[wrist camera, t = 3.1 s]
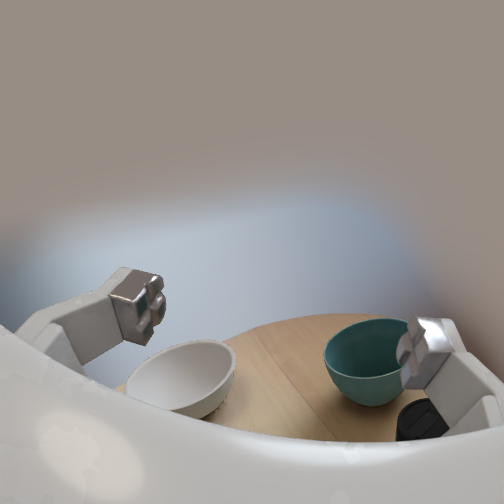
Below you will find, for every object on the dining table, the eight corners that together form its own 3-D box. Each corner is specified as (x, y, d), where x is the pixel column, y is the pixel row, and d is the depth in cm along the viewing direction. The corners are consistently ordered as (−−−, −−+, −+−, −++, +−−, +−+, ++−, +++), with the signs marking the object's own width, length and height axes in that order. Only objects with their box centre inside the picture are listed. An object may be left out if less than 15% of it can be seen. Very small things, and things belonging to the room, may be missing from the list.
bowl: (155, 379, 72) (141, 352, 70) (245, 360, 72) (234, 329, 70) (132, 447, 45) (109, 416, 43) (253, 431, 46) (238, 397, 44)
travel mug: (374, 498, 24) (380, 422, 20) (407, 470, 26) (424, 383, 22) (401, 520, 18) (428, 454, 14) (435, 489, 20) (470, 404, 16)
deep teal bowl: (318, 386, 54) (308, 341, 52) (388, 353, 56) (385, 307, 54) (355, 441, 36) (351, 395, 34) (437, 392, 38) (443, 342, 36)
